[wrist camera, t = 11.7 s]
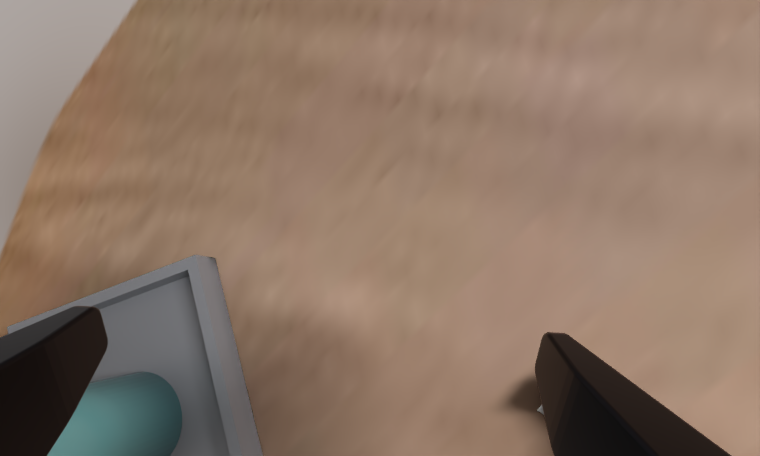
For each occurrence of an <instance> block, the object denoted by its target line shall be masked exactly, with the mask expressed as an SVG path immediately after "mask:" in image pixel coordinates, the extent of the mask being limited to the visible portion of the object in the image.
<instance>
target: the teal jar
mask: <svg viewBox="0 0 760 456" xmlns="http://www.w3.org/2000/svg"><path fill="white" fill-rule="evenodd" d="M181 428H182V411H181V405H180V402H179V399H178V397H177V394H176V393H175V391H174V389H173V388H172V386H171V385H170V384H169V383H168V382H167V381H166V380H165V379H163V378H162V377H160V376H159V375H157V374H154V373H151V372H134V373H129V374H125V375H120V376H115V377H110V378H106V379H101V380H96V381H91V382H90V383H89V385H88V387H87V389H86V391H85V393H84V395H83V397H82V399H81V401H80V402H79V404H78V406H77V408H76V410H75V412H74V414H73V415H72V417H71V419H70V421H69V422H68V424H67V426H66V427H65V429H64V430H63V432H62V434H61V435H60V437H59V438H58V440H57V441H56V443H55V444H54V446H53V447H52V449H51V451H50V452H49V454H48V455H47V456H170V455H171V453H172V452H173V451H174V449H175V447H176V445H177V443H178V440H179V437H180V434H181Z"/></svg>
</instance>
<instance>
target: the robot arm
mask: <svg viewBox="0 0 760 456" xmlns="http://www.w3.org/2000/svg"><path fill="white" fill-rule="evenodd" d="M107 346H108V337H107V334H106V330H105V326H104V322H103V319H102V315H101V312H100V310H99V309H98V308H96V307H93V306H74V307H71V308H69V309H66V310H64V311H61V312H59V313H57V314H54V315H52V316H50V317H47V318H45V319H43V320H40V321H38V322H36V323H33V324H31V325H29V326H26V327H24V328H22V329H19V330H17V331H15V332H12V333H10V334H7V335H5V336H3V337H0V456H47V455H48V454H49V452H50V451H51V449H52V447H53V446H54V444H55V443H56V441H57V440H58V438H59V437H60V435H61V434H62V432H63V430H64V429H65V427H66V426H67V424H68V422H69V421H70V419H71V417H72V415H73V414H74V412H75V410H76V408H77V406H78V404H79V402H80V401H81V399H82V397H83V395H84V393H85V391H86V389H87V387H88V385H89V383H90V381H91V379H92V377H93V375H94V373H95V372H96V370H97V368H98V366H99V364H100V362H101V360H102V358H103V356H104V354H105V352H106V350H107ZM535 375H536V380H537V384H538V389H539V393H540V398H541V403H542V407H543V412H544V416H545V421H546V426H547V430H548V435H549V439H550V443H551V447H552V450H553V453H554V456H731V455H730V454H728V453H727V452H726V451H724V450H723V449H722V448H720V447H719V446H718V445H716V444H715V443H714V442H712V441H711V440H709V439H708V438H707V437H705V436H704V435H703V434H701V433H700V432H699V431H697V430H696V429H695V428H693V427H692V426H691V425H689V424H688V423H686V422H685V421H684V420H682V419H681V418H680V417H678V416H677V415H676V414H674V413H673V412H672V411H670V410H669V409H668V408H666V407H665V406H664V405H662V404H661V403H659V402H658V401H657V400H655V399H654V398H653V397H651V396H650V395H649V394H647V393H646V392H645V391H643V390H642V389H641V388H639V387H638V386H636V385H635V384H634V383H632V382H631V381H630V380H628V379H627V378H626V377H624V376H623V375H622V374H620V373H619V372H618V371H616V370H615V369H613V368H612V367H611V366H609V365H608V364H607V363H605V362H604V361H603V360H601V359H600V358H599V357H597V356H596V355H595V354H593V353H592V352H590V351H589V350H588V349H586V348H585V347H584V346H582V345H581V344H580V343H578V342H577V341H576V340H574V339H573V338H572V337H570V336H569V335H567V334H565V333H553V332H547V333H545V334H544V335H543V337H542V340H541V344H540V348H539V352H538V356H537V360H536V364H535Z"/></svg>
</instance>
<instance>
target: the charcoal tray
mask: <svg viewBox="0 0 760 456" xmlns="http://www.w3.org/2000/svg"><path fill="white" fill-rule="evenodd" d="M74 306H93V307H96V308H98V309H99V310H100V312H101V315H102V319H103V322H104V326H105V330H106V334H107V337H108V346H107V350H106V352H105V354H104V356H103V358H102V360H101V362H100V364H99V366H98V368H97V370H96V372H95V373H94V375H93V377H92V379H91V381H96V380H101V379H106V378H110V377H115V376H120V375H125V374H129V373H134V372H151V373H154V374H157V375H159V376H160V377H162V378H163V379H165V380H166V381H167V382H168V383H169V384H170V385H171V386H172V388H173V389H174V391H175V393H176V394H177V397H178V399H179V402H180V405H181V411H182V428H181V434H180V437H179V440H178V443H177V445H176V447H175V449H174V451H173V452H172V453H171V455H170V456H263V454H262V450H261V446H260V442H259V437H258V433H257V429H256V425H255V421H254V417H253V413H252V409H251V404H250V400H249V396H248V392H247V388H246V384H245V380H244V376H243V371H242V367H241V363H240V359H239V355H238V351H237V347H236V343H235V338H234V334H233V330H232V326H231V322H230V318H229V314H228V310H227V305H226V301H225V297H224V293H223V289H222V285H221V281H220V277H219V272H218V268H217V264H216V260H215V258H212V257H206V256H200V255H194V256H191V257H188V258H186V259H183V260H181V261H178V262H175V263H173V264H170V265H167V266H165V267H162V268H160V269H157V270H154V271H152V272H149V273H147V274H144V275H141V276H139V277H136V278H134V279H131V280H128V281H126V282H123V283H121V284H118V285H115V286H113V287H110V288H108V289H105V290H102V291H100V292H97V293H94V294H92V295H89V296H87V297H84V298H81V299H79V300H76V301H74V302H71V303H68V304H66V305H63V306H61V307H58V308H55V309H53V310H50V311H48V312H45V313H42V314H40V315H37V316H35V317H32V318H29V319H27V320H24V321H21V322H19V323H16V324H14V325H11V326H8V327H7V329H8V334H10V333H12V332H15V331H17V330H19V329H22V328H24V327H26V326H29V325H31V324H33V323H36V322H38V321H40V320H43V319H45V318H47V317H50V316H52V315H54V314H57V313H59V312H61V311H64V310H66V309H69V308H71V307H74ZM91 381H90V382H91Z"/></svg>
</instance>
